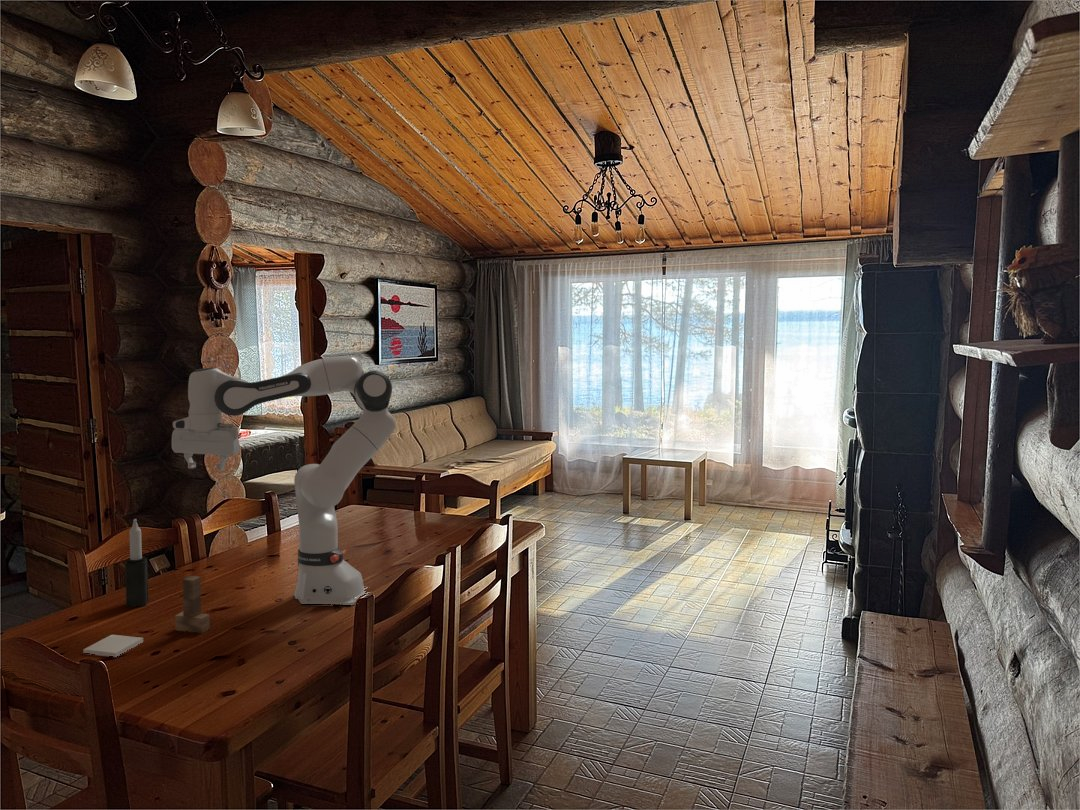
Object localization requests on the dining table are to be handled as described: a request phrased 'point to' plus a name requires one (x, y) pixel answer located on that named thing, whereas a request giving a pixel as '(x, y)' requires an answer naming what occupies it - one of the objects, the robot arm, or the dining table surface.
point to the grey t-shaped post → (192, 608)
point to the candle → (136, 571)
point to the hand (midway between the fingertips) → (206, 469)
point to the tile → (113, 645)
